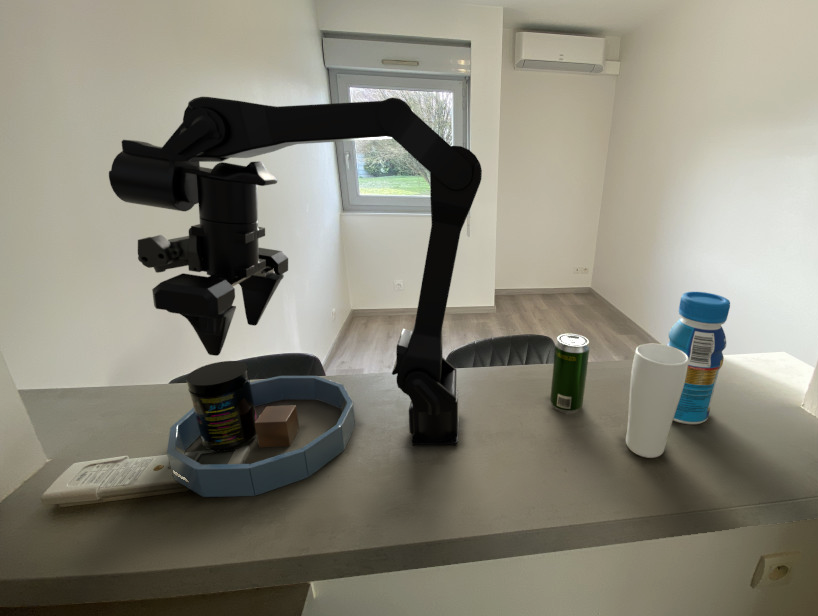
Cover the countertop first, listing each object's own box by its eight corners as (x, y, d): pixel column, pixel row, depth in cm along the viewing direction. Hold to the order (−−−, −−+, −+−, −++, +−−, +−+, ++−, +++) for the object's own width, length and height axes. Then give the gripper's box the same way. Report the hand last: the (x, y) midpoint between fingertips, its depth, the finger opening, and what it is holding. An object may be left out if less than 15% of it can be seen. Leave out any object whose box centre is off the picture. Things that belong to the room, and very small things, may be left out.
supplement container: (267, 438, 57) (254, 372, 54) (210, 461, 53) (193, 391, 49) (250, 418, 62) (238, 356, 58) (197, 438, 57) (180, 371, 53)
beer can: (582, 416, 65) (590, 348, 61) (548, 412, 66) (554, 344, 62) (582, 399, 70) (590, 335, 66) (551, 395, 71) (556, 331, 67)
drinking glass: (634, 427, 63) (649, 338, 58) (677, 448, 59) (698, 354, 54) (611, 446, 59) (625, 351, 54) (655, 471, 54) (676, 370, 49)
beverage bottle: (643, 407, 69) (664, 294, 62) (671, 393, 73) (693, 286, 67) (691, 433, 62) (720, 310, 55) (718, 415, 67) (748, 300, 60)
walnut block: (299, 428, 60) (296, 405, 58) (290, 446, 56) (286, 421, 55) (270, 429, 59) (266, 406, 58) (259, 447, 56) (254, 422, 54)
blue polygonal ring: (368, 396, 68) (366, 375, 67) (324, 494, 48) (320, 467, 47) (233, 397, 67) (229, 375, 65) (130, 498, 47) (120, 470, 45)
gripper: (204, 198, 55) (211, 304, 61) (81, 217, 38) (106, 365, 43) (290, 212, 57) (289, 315, 62) (210, 238, 39) (218, 378, 45)
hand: (234, 338), depth 53 cm, fingers open, 9 cm apart
